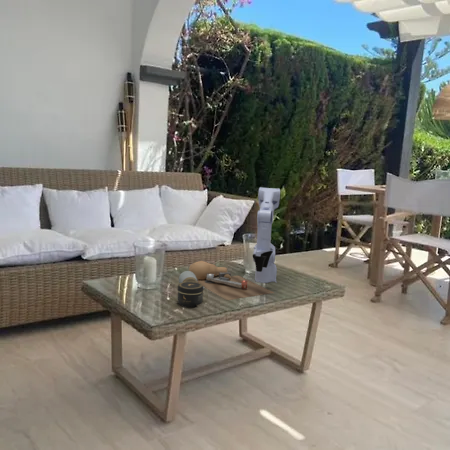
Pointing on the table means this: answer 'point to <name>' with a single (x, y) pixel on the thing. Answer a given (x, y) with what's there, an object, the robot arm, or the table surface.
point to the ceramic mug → (187, 277)
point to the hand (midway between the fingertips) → (261, 269)
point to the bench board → (234, 288)
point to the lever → (226, 281)
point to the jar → (190, 294)
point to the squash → (205, 269)
